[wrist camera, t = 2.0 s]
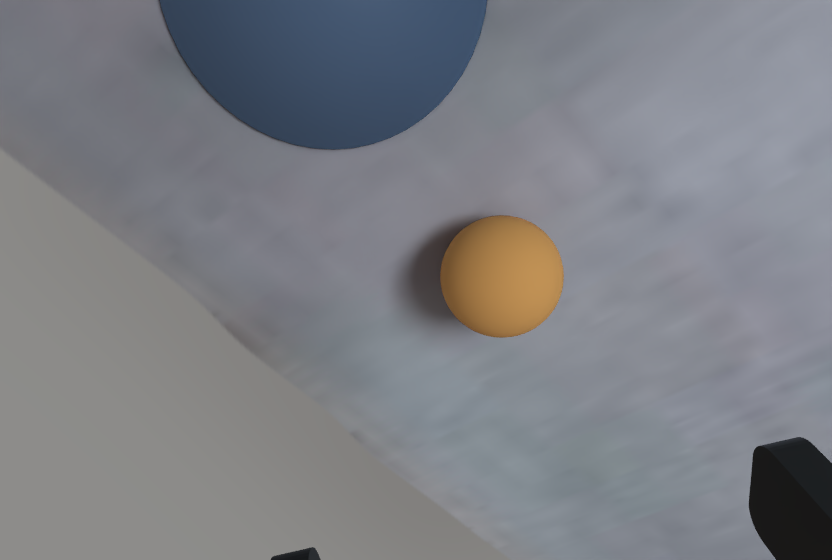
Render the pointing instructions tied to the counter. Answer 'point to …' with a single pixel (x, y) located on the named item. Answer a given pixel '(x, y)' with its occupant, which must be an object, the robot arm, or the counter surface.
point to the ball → (501, 276)
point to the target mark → (327, 62)
